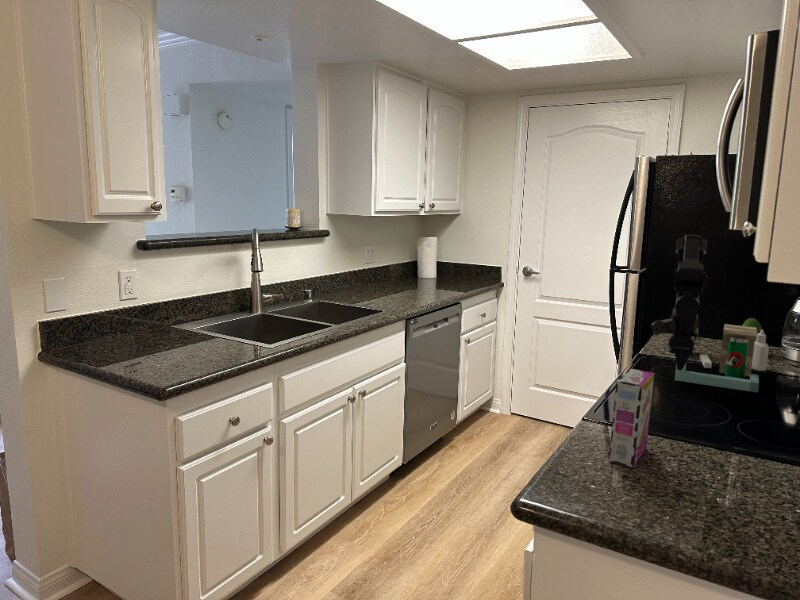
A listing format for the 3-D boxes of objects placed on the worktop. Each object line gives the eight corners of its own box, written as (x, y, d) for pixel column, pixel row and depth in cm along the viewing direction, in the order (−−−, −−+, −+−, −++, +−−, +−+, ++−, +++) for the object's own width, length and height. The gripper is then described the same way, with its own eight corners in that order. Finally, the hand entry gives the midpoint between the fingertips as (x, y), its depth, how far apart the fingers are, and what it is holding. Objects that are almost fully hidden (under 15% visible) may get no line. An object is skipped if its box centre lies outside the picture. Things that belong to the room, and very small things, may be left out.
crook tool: (677, 372, 172) (680, 346, 171) (757, 383, 162) (760, 355, 161) (674, 380, 165) (677, 352, 163) (758, 392, 155) (761, 363, 153)
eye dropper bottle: (749, 369, 175) (753, 331, 173) (749, 365, 180) (753, 327, 178) (766, 372, 173) (771, 332, 171) (765, 367, 178) (770, 329, 176)
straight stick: (699, 360, 187) (700, 354, 187) (706, 360, 186) (707, 354, 186) (703, 368, 178) (704, 362, 177) (711, 369, 177) (711, 362, 177)
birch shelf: (719, 371, 173) (724, 324, 171) (750, 376, 169) (756, 327, 167) (718, 378, 166) (723, 329, 164) (750, 383, 162) (757, 332, 160)
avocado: (738, 355, 192) (742, 319, 190) (732, 349, 200) (736, 315, 198) (765, 357, 190) (770, 321, 188) (758, 351, 197) (763, 316, 195)
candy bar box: (635, 469, 110) (642, 386, 107) (608, 462, 113) (614, 380, 110) (648, 449, 119) (655, 371, 116) (623, 443, 122) (629, 367, 119)
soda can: (748, 380, 165) (753, 339, 163) (730, 380, 165) (735, 339, 163) (738, 375, 170) (743, 335, 168) (721, 375, 170) (725, 335, 168)
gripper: (658, 303, 174) (654, 354, 176) (650, 314, 158) (645, 369, 160) (700, 307, 168) (695, 359, 171) (696, 318, 152) (690, 376, 155)
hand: (681, 365), depth 164 cm, fingers open, 9 cm apart
